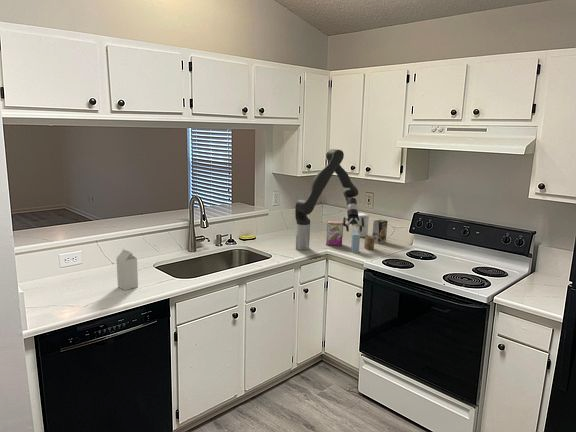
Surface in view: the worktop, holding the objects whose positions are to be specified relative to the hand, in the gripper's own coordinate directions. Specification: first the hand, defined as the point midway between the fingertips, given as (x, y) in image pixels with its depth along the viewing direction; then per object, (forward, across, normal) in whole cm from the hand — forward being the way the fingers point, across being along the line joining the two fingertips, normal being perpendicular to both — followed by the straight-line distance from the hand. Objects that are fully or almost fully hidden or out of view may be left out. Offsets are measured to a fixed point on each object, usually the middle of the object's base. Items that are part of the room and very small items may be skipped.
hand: (354, 231), depth 303 cm
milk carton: (+66, -126, -49) cm, 151 cm away
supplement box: (-19, +11, +37) cm, 43 cm away
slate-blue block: (+14, 0, +4) cm, 14 cm away
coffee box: (-5, +22, +23) cm, 32 cm away
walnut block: (+8, +11, +10) cm, 17 cm away
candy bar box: (+2, -12, +16) cm, 20 cm away
